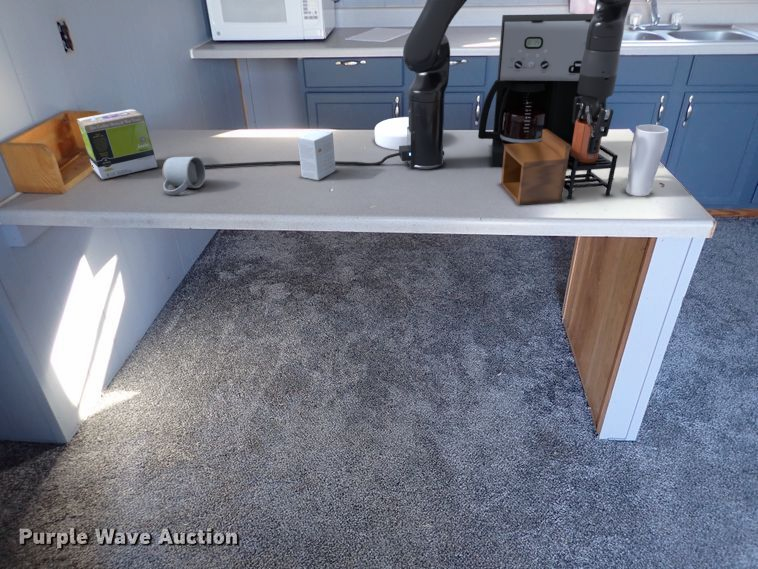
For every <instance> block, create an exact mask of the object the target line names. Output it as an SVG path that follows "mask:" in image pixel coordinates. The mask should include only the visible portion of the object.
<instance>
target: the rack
mask: <svg viewBox="0 0 758 569" xmlns="http://www.w3.org/2000/svg"><path fill="white" fill-rule="evenodd" d="M599 151H601V152H603V153H605V154H606V155H608V156H609V157H611V160H609V158H607V157H606V156H603V155H602V154H601V153H599V154H598V159H597V161H595V162H578V158H577V157H575V156H574V155H573V154H571V151H570V152H569V158H568V164H567V167H568V168H570V169H569V170H570V174H568V175H567V174H566V177H565V183H564V189H565V190H566V191H567V195H566V198H567V200H572V199H573V193H574V189H582V188H595V187H597V188H598V187H604V188H605V193H604V196H606V197H610V196H611V191H612V186H613V183H614V182H613V181H614V177H615V173H616V172H615V171H616V167H617V162H618V156H619V155H618V154H616V153H615V152H613V151H611V150H610V149H608V148H606V147H605V146H604V145H602V144H600V149H599ZM606 169H607V170H608V169H609V173H608V178H607V181H605V180H604V179H602V178H601V177H600V176H598V175H596V173H594V172H592V170H593V171H595V170H606ZM579 171H585V172H586V173H580V174H579V173H578V174H577V172H579Z"/></svg>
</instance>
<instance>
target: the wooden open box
mask: <svg viewBox="0 0 758 569" xmlns="http://www.w3.org/2000/svg"><path fill="white" fill-rule="evenodd" d="M569 151H570V145H569V144H568V143H566V142H565V141H564V140H562V139H561V138H559V137H558V136H556V135H555V134H553V133H552V132H551V131H549V130H548V129H543V132H542V140H541V142H532V143H517V144H505V145H504V156H503V167H501V168H502V169H501V170H502V171H501V177H500V179H501V180H500V185H501V186H502V187H503V188H504V190H505V191H506V192H507V193H508V194H509V195H510V197H511V198H512V199H513V200H514V201H515V202H516V203H517V204H518V205H519V206H525V205H535V204H548V203H562V202H563V195H564V189H565V188H564V183H565V180H566V179H565V177H566V175H567V172H568V171H567V170H568V169H567V164H568V158H569Z"/></svg>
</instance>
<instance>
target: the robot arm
mask: <svg viewBox="0 0 758 569" xmlns="http://www.w3.org/2000/svg"><path fill="white" fill-rule="evenodd" d="M467 2H468V0H426V1H425V4H424V6H423V8H422V10H421V12H420V14H419V16H418V18H417V19H416V22H415V23H414V24H413V27H412V29H411V31H410V32H409V34H408V36H407V38H406V40H405V42H404V45H403V49H402V56H403V61H404V65H405V66H406V68H407V69H408V70H409V71H411V72H412V73H414V74H415V75H414V80H413V82H412V83H411V84H410V86H409V87H408V117H409V127H407V145H406V146H399V150H398V152H396V153H391V154H389V155H388V154H387V155H386V156H384V157H383V158H382V159H381V160H380V161H375V162H362V161H343V160H342V161H339V160H338V161H337V160H335V165H344V166H345V165H347V166H348V165H349V166H350V165H354V166H366V167H367V166H368V167H369V166H379V165H381V164H382V165H383V163H385V161H387V160H389V159H392V158H395V157H400V160H401V162H407V164H408V166H409V168H410V169H417V170H433V169H438V168H440V167H443V164H444V157H445V151H444V135H445V134H444V132H445V131H444V129H445V103H446V102H445V100H446V91H447V88H448V84H449V78H450V66H451V44H450V40H449V38H448V36H447V35H446V33H447V31H448V28H449V27H450V25H451V22H452V21H453V19H454V18H455V16H456V15H457V14H458V13H459V11H460V10H461V9H462V8H463V7H464V5H465V4H466V3H467ZM631 2H632V0H595V5H594V10H593V14H594V15H593V18H592V20H591V22H590V24H589V27H588V32H587V38H586V44H585V50H584V54H583V58H582V62H581V69H580V75H579V81H578V88H577V93H578V94H579V95H580V97H575V98H574V106H573V117H572V123H573V124H575V123H576V119H580V121H581V122H582V121H587V124H588V127H590V137H589V142H588V148H587V153H588V154H596V153H597V152H598V147H599V142H600V138H601V137H602V138H603V137H608V134H609V130H610V127H611V122H612V119H613V115H614V109H613V108H607V99H608V98H610V97H611V96H613V95H614V93H615V87H616V82H617V76H618V72H619V66H620V60H621V48H622V43H623V38H624V32H625V24H626V18H627V15H628V12H629V9H630V6H631ZM577 113H578V114H577ZM592 121H597V122H592ZM594 126H596V129H595V132H594ZM602 138H601V139H602ZM263 165H264V166H267V165H301V164H300V160H273V161H271V160H270V161H250V162H249V161H248V162H232V163H212V164H211V163H210V164H204V167H205V169H207V168H224V167H225V168H227V167H242V166H243V167H244V166H245V167H246V166H263Z"/></svg>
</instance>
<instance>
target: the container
mask: <svg viewBox="0 0 758 569" xmlns="http://www.w3.org/2000/svg"><path fill="white" fill-rule="evenodd" d="M407 127H409V116H399V117H393V118H388V119H384V120H382V121H380V122H378V123H377V124H375V126H374V142H375V144H376V145H378V146H379V147H381V148H384V149H388V150H389V149H390V150H395V151H399V146H406V145H407Z"/></svg>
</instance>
